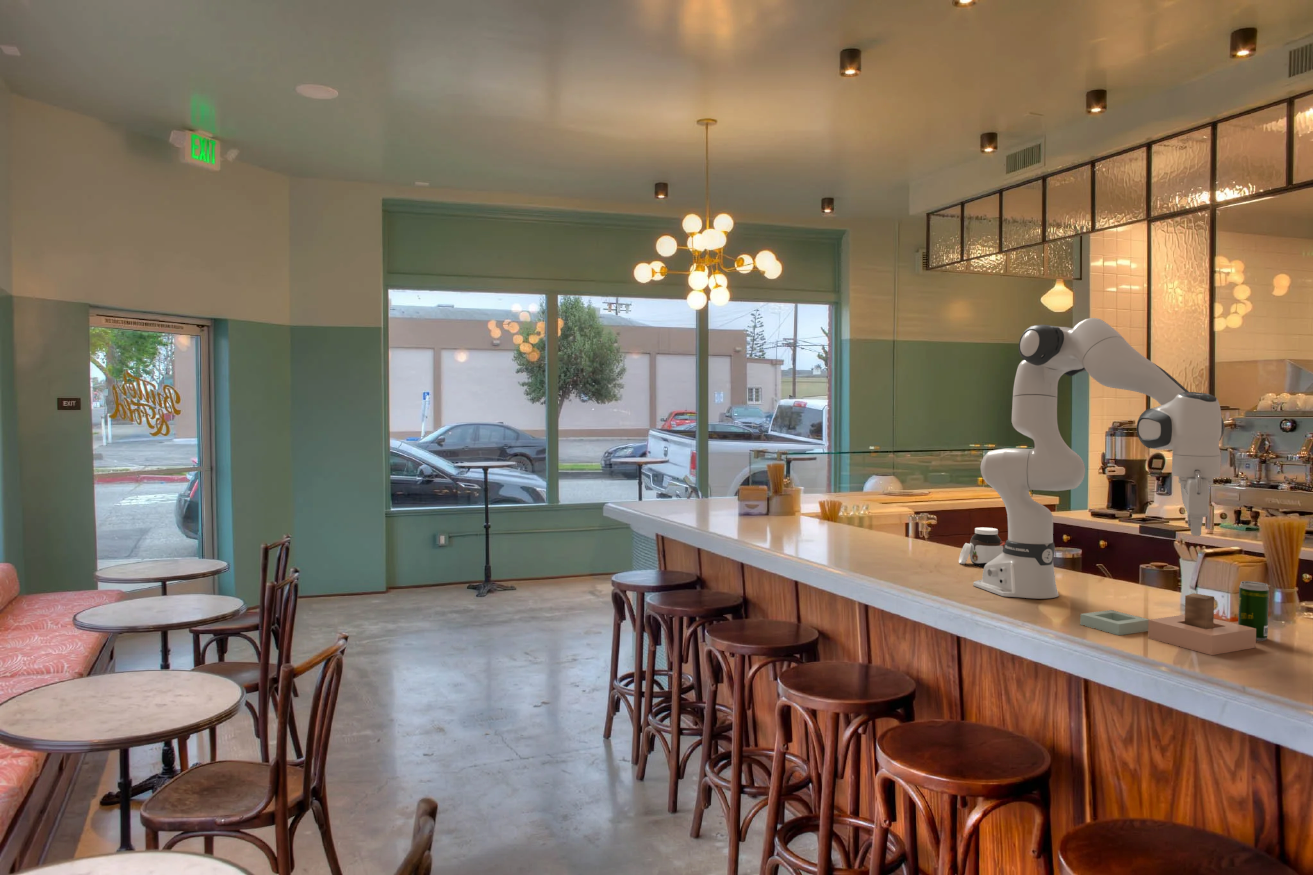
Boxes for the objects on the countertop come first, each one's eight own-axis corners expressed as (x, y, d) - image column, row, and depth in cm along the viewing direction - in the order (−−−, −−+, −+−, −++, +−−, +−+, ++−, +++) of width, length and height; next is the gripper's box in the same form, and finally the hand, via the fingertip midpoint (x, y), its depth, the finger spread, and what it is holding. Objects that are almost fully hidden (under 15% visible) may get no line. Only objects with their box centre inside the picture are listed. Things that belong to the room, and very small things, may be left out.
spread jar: (1006, 567, 268) (1007, 530, 268) (974, 569, 265) (975, 532, 265) (983, 561, 280) (983, 525, 279) (952, 562, 277) (952, 526, 276)
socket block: (1148, 637, 188) (1148, 619, 187) (1191, 631, 193) (1191, 613, 193) (1211, 655, 175) (1211, 635, 175) (1255, 647, 180) (1256, 628, 180)
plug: (1184, 641, 185) (1185, 595, 184) (1192, 638, 187) (1193, 593, 187) (1204, 645, 182) (1205, 599, 181) (1213, 642, 184) (1214, 596, 183)
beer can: (1269, 637, 188) (1271, 583, 187) (1265, 642, 184) (1267, 587, 183) (1240, 633, 192) (1241, 579, 191) (1235, 638, 188) (1237, 583, 187)
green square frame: (1080, 624, 199) (1080, 613, 199) (1111, 620, 203) (1111, 609, 203) (1118, 635, 190) (1119, 624, 190) (1150, 630, 194) (1150, 619, 194)
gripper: (1217, 473, 174) (1216, 541, 175) (1209, 464, 192) (1207, 525, 193) (1181, 472, 177) (1179, 538, 178) (1176, 463, 195) (1174, 523, 196)
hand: (1194, 531), depth 186 cm, fingers open, 8 cm apart
